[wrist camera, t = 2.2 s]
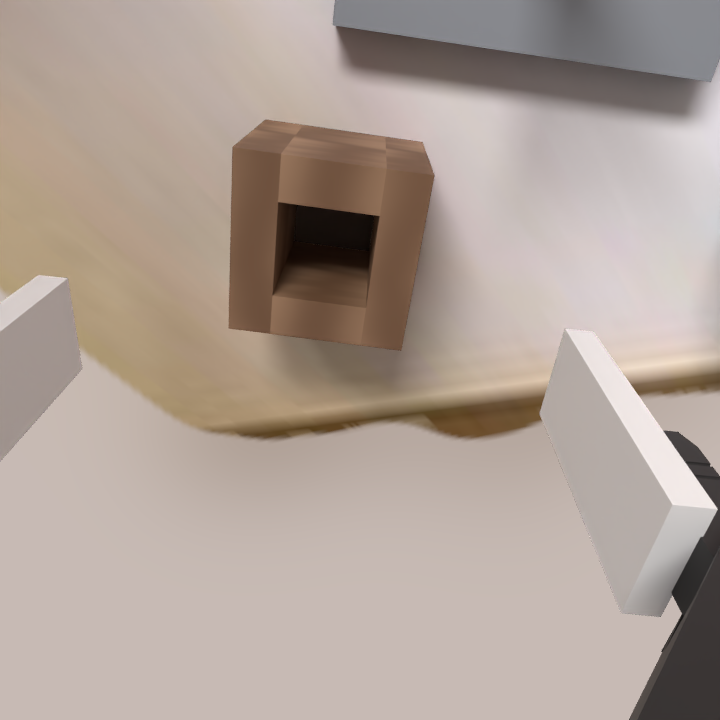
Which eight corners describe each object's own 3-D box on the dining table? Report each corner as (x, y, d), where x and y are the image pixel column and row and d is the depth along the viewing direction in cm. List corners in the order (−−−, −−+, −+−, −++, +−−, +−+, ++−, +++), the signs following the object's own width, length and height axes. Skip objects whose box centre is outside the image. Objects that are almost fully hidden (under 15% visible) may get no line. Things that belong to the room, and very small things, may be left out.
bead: (258, 268, 35) (228, 328, 28) (265, 119, 31) (232, 147, 24) (397, 286, 36) (401, 350, 29) (422, 142, 31) (434, 175, 24)
